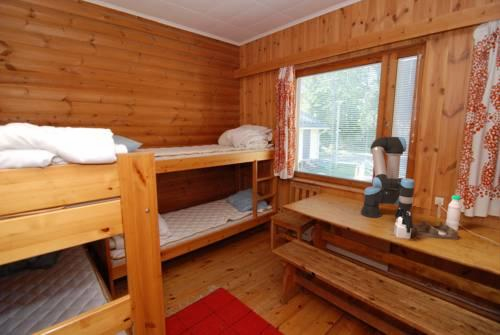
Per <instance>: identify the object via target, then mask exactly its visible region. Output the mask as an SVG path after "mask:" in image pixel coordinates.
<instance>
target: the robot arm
mask: <svg viewBox="0 0 500 335" xmlns="http://www.w3.org/2000/svg"><path fill="white" fill-rule="evenodd" d="M406 151H407V141H406V139H405V138H404V137H402V136H380V137H378V138H376V139H375V140H373V142H372V143H371V145H370V154H371V155H372V160H373V169H374V177H372V186H367V187H366V188H365V189H364V192H363V193H364V194H363V195H364V196H363V205H362V207H361V209H360V215H362V216H364V217H367V218H372V219H373V218H374V219H376V218H380V217H381V216H382V213H381V209H380V208H381V207H380V204H381V205H382V204H384V205H385V204H386V205H391V206H392V205H397V209H396V212H395V214H394V217H395V219H396V220H395V223H397V222H398V217H404V218H405V223H406V227H405V237H410V238H411V236H410V229H411V228H413V216H412V215H413V213H412V212H410V210H412V208H413V202H414V201H413V200H414V193H415V192H414V191H415V186H416V185H415V182H416V181H415V180H414V179H411V178H404V177H399V175H400V163H401V156H403V154H404V153H405V152H406ZM384 153H385V154H386V156H387V161H386V162H385V155H384ZM386 163H387V164H386ZM386 165H387V166H386Z"/></svg>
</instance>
